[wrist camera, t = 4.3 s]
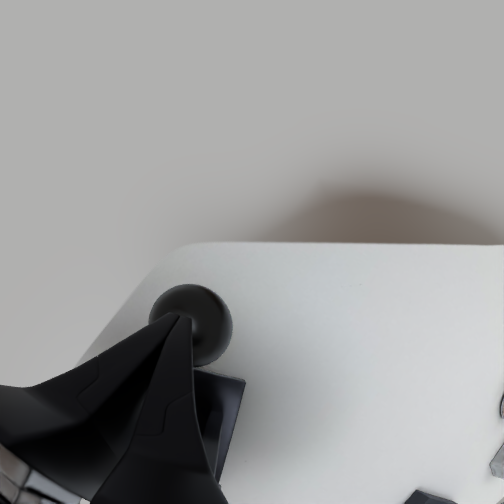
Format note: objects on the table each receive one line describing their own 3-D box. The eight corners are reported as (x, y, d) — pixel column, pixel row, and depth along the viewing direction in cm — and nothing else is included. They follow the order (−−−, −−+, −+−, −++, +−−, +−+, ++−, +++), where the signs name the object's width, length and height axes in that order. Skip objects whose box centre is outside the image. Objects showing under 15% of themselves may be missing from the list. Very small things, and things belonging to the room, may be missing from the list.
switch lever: (172, 284, 13) (152, 264, 10) (240, 302, 13) (242, 288, 10) (129, 472, 10) (104, 499, 6) (192, 493, 10) (182, 528, 6)
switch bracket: (159, 355, 20) (83, 366, 8) (245, 379, 19) (258, 424, 8) (138, 457, 16) (74, 524, 5) (218, 481, 16) (208, 571, 5)
